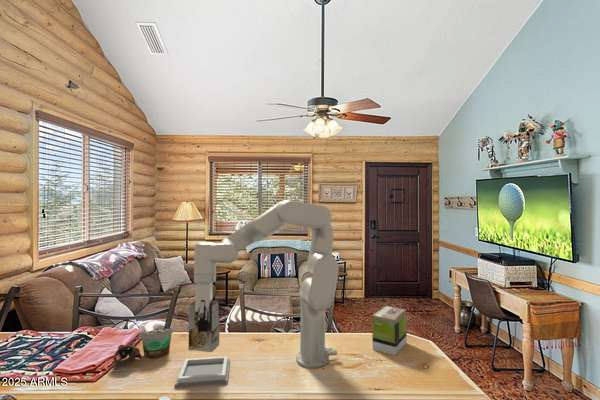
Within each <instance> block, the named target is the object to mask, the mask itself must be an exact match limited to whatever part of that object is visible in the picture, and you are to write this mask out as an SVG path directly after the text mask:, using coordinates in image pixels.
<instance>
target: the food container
mask: <svg viewBox="0 0 600 400" xmlns="http://www.w3.org/2000/svg"><path fill="white" fill-rule="evenodd" d="M173 333H174V328H173V326H171V327H169V328H161V329H160V328H158V329H157V328H156V329H154V330H150V331H143V330H140V333H139V337H140V338H141V343H142V349H143V350H142V351H143V357H144V358H146V359H149V360H151V359H152V360H154V359H160V358H163V357H165V356H167V355H168V354H169V353H170V348H171V340H172V339H171V338H172V334H173Z"/></svg>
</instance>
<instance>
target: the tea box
mask: <svg viewBox="0 0 600 400" xmlns="http://www.w3.org/2000/svg"><path fill="white" fill-rule="evenodd" d="M371 319H372V321H371V323H372V325H371V327H372V329H371V330H372V332H371V333H372V335H371V337H372V339H371V340H372V341H371V342H372V350H374V351H377V352H381V353H383V354H386V355H387V354H388V355H390V356H396V355H397V354H398V353H399V352H400V350H402V349H403V347H404V346H405V345H406V344H407V342H408V341H407V339H408V338H407V337H408V336H407V335H408V334H407V309H402V308H398V307H392V306H387V305H385V306H383V307H382V308H380V309H379V310H377V311H376V312H375V313H374V314H372V317H371Z"/></svg>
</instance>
